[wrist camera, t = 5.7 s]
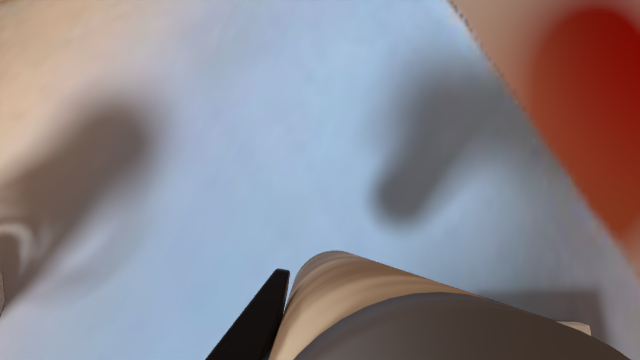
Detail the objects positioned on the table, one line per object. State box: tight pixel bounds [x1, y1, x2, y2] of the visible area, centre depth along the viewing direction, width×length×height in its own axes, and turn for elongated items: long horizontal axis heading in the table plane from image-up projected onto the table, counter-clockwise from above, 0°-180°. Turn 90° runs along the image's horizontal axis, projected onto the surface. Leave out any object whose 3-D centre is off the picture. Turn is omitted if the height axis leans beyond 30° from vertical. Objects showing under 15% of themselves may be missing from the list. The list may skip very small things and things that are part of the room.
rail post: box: [269, 251, 630, 360], centre depth 8 cm, size 5×5×13 cm
